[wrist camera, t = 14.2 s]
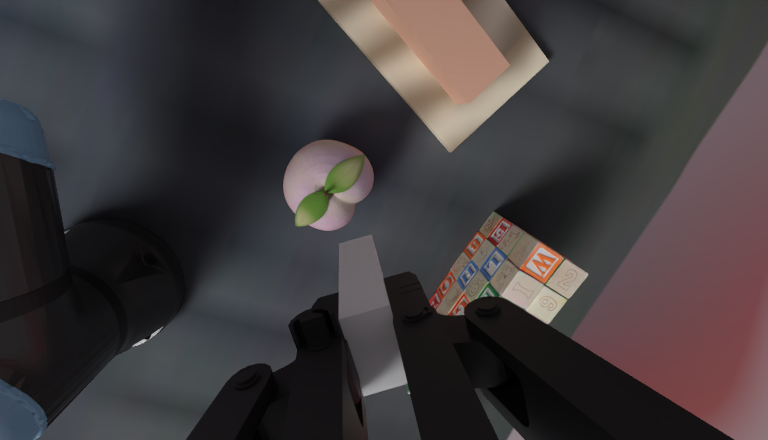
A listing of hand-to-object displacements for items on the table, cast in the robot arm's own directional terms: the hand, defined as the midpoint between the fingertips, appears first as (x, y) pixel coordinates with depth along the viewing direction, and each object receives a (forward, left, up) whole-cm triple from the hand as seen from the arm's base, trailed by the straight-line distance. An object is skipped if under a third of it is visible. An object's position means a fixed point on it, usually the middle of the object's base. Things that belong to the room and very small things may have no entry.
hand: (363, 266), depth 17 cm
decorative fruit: (-3, -1, -28) cm, 28 cm away
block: (-1, +20, -24) cm, 31 cm away
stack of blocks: (+16, -12, -28) cm, 34 cm away
